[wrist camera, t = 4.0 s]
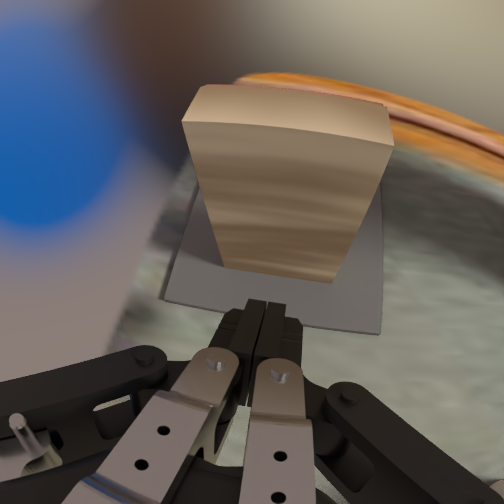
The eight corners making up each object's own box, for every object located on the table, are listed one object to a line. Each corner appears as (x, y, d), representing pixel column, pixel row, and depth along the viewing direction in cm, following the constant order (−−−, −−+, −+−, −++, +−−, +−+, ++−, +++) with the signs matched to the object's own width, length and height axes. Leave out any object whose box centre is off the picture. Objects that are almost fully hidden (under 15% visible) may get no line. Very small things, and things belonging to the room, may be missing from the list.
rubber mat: (378, 335, 18) (380, 333, 18) (165, 301, 20) (163, 299, 19) (372, 126, 27) (373, 122, 26) (232, 108, 29) (231, 104, 28)
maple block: (331, 283, 19) (394, 146, 9) (224, 267, 20) (181, 121, 10) (334, 249, 20) (385, 102, 10) (232, 234, 21) (203, 82, 11)
